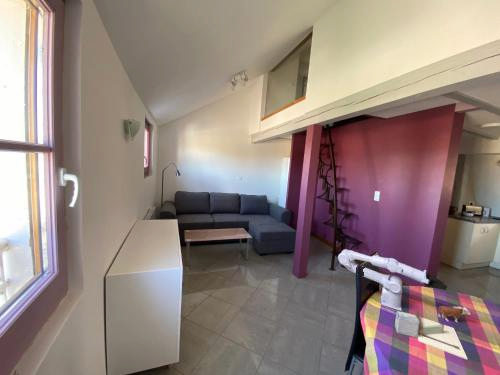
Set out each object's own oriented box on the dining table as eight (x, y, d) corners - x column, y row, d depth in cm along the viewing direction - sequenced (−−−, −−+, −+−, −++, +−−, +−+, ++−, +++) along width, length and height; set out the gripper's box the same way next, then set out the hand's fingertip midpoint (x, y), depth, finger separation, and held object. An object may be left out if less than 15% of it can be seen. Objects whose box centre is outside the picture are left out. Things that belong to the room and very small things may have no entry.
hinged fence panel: (419, 335, 98) (420, 327, 97) (416, 332, 99) (417, 325, 99) (444, 333, 100) (445, 326, 99) (440, 330, 101) (441, 323, 101)
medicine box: (413, 331, 101) (415, 314, 100) (417, 338, 97) (419, 321, 96) (394, 326, 103) (396, 310, 102) (397, 333, 99) (399, 316, 98)
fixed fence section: (417, 331, 100) (418, 324, 100) (414, 317, 110) (415, 309, 110) (421, 333, 99) (422, 325, 99) (417, 318, 109) (418, 311, 109)
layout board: (418, 341, 95) (418, 340, 95) (412, 315, 112) (413, 314, 112) (467, 359, 87) (467, 358, 87) (453, 329, 104) (453, 327, 103)
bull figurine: (470, 325, 106) (473, 310, 105) (439, 320, 109) (442, 306, 108) (463, 319, 111) (466, 305, 110) (434, 314, 113) (436, 300, 112)
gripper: (415, 268, 108) (450, 282, 100) (413, 263, 119) (444, 275, 112) (411, 281, 108) (445, 295, 100) (409, 275, 120) (440, 288, 112)
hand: (444, 286), depth 106 cm, fingers open, 7 cm apart
